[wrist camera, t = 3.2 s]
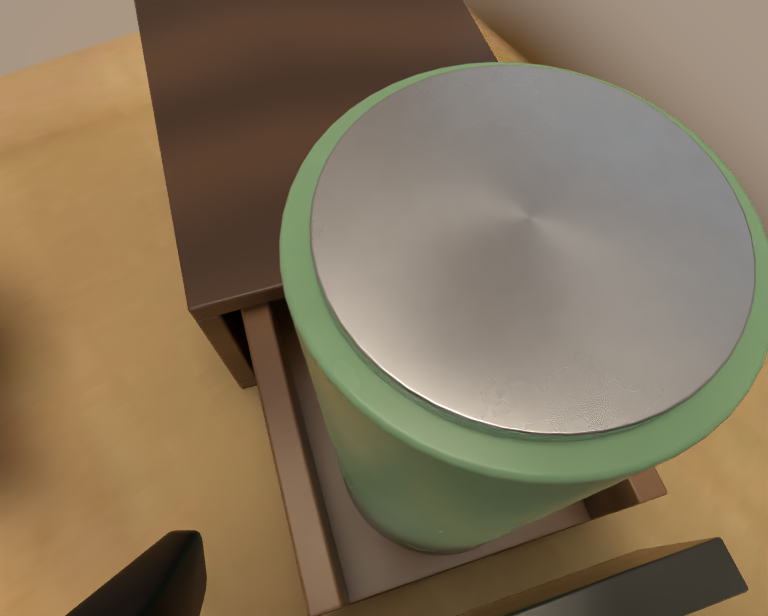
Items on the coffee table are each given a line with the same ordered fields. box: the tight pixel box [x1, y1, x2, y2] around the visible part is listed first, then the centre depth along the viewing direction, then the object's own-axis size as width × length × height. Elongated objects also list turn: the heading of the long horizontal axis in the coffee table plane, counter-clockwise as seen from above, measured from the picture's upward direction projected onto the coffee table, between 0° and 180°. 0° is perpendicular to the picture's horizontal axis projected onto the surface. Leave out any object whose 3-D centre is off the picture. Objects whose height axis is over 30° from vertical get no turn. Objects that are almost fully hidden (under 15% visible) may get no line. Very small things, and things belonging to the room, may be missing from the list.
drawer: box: [241, 297, 748, 616], centre depth 16 cm, size 14×10×5 cm
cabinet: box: [134, 0, 498, 388], centre depth 21 cm, size 13×11×6 cm
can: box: [279, 62, 768, 555], centre depth 12 cm, size 6×6×12 cm
